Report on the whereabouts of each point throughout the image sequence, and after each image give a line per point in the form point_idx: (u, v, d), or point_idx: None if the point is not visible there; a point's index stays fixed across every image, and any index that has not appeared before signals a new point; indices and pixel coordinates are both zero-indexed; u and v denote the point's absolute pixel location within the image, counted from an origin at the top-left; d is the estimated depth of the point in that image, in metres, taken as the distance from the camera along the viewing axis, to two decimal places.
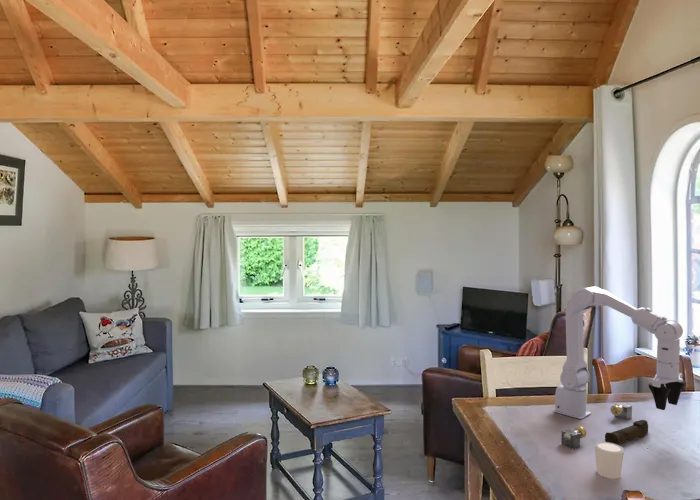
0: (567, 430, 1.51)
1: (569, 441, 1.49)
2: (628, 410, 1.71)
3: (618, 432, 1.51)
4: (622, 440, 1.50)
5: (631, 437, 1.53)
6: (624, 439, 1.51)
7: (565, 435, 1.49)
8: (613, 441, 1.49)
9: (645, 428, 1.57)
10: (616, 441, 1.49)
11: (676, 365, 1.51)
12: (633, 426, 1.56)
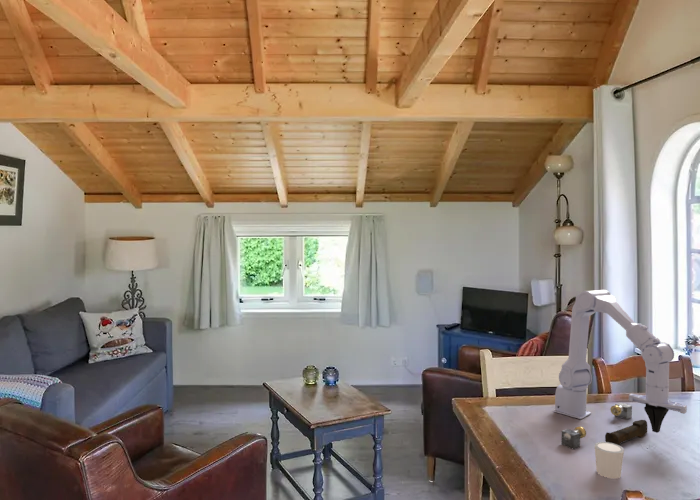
0: (567, 430, 1.51)
1: (569, 441, 1.49)
2: (628, 410, 1.71)
3: (618, 432, 1.51)
4: (622, 440, 1.50)
5: (631, 437, 1.53)
6: (624, 439, 1.51)
7: (565, 435, 1.49)
8: (613, 441, 1.49)
9: (644, 428, 1.57)
10: (616, 441, 1.49)
11: (650, 387, 1.48)
12: (633, 426, 1.56)
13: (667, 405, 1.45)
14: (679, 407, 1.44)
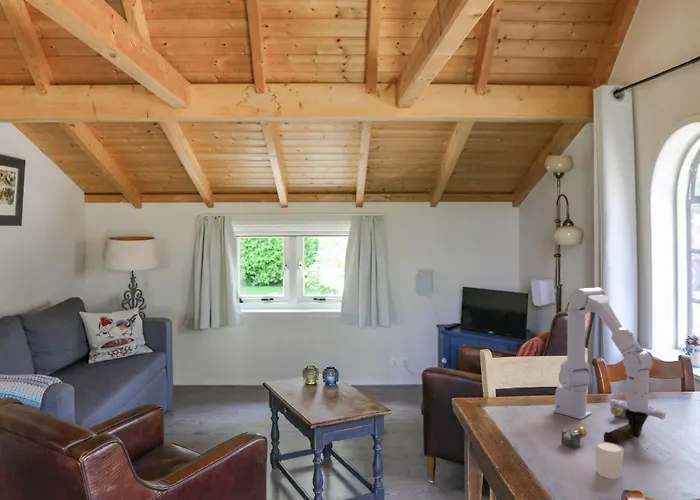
0: (567, 430, 1.51)
1: (569, 441, 1.49)
2: None
3: (616, 431, 1.52)
4: (620, 439, 1.51)
5: (628, 436, 1.54)
6: (622, 438, 1.51)
7: (565, 435, 1.49)
8: (612, 440, 1.49)
9: None
10: (615, 440, 1.49)
11: (631, 393, 1.52)
12: (629, 425, 1.57)
13: (647, 411, 1.49)
14: (658, 413, 1.48)
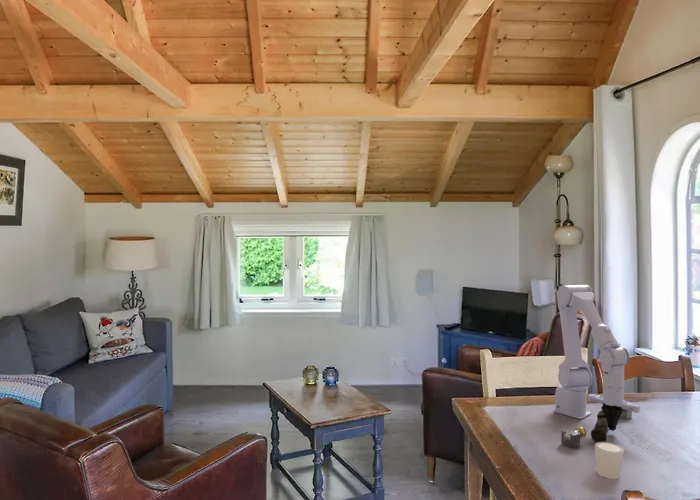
0: (567, 430, 1.51)
1: (569, 441, 1.49)
2: (628, 410, 1.71)
3: (599, 427, 1.54)
4: None
5: (606, 428, 1.57)
6: (605, 432, 1.54)
7: (565, 435, 1.49)
8: (601, 436, 1.51)
9: None
10: (604, 435, 1.51)
11: (607, 388, 1.57)
12: (600, 418, 1.61)
13: (622, 405, 1.54)
14: (632, 407, 1.53)
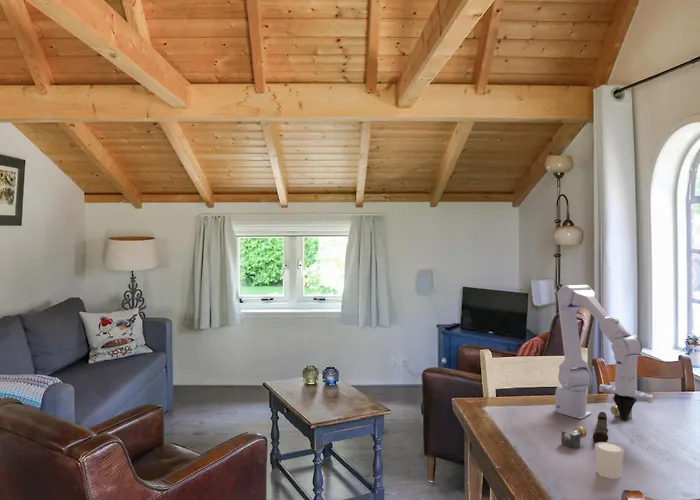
0: (567, 430, 1.51)
1: (569, 441, 1.49)
2: None
3: (602, 429, 1.53)
4: None
5: None
6: None
7: (565, 435, 1.49)
8: (603, 440, 1.50)
9: None
10: (606, 439, 1.50)
11: (619, 378, 1.54)
12: (601, 420, 1.61)
13: (634, 395, 1.52)
14: (645, 397, 1.50)
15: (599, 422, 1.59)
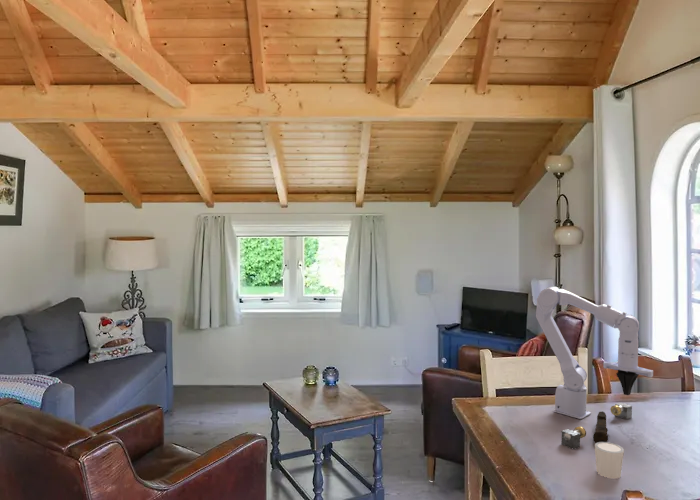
0: (567, 430, 1.51)
1: (569, 441, 1.49)
2: (628, 410, 1.71)
3: (602, 429, 1.53)
4: None
5: None
6: None
7: (565, 435, 1.49)
8: (604, 439, 1.50)
9: None
10: (607, 439, 1.50)
11: (622, 355, 1.66)
12: (601, 420, 1.61)
13: (636, 370, 1.63)
14: (646, 372, 1.62)
15: (599, 422, 1.59)
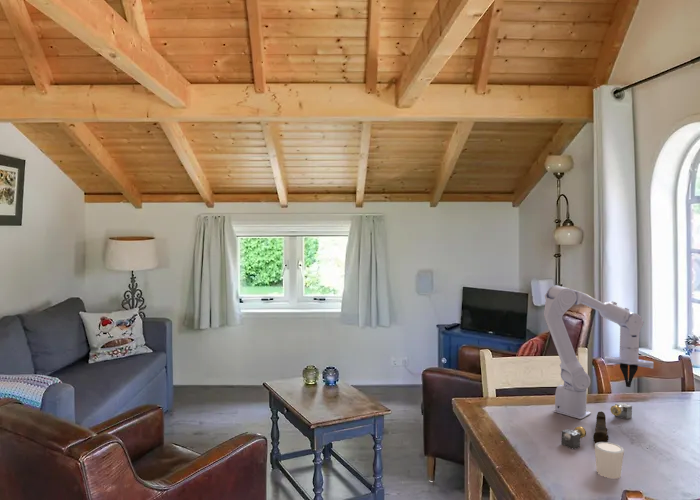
0: (567, 430, 1.51)
1: (569, 441, 1.49)
2: (628, 410, 1.71)
3: (602, 429, 1.53)
4: None
5: None
6: None
7: (565, 435, 1.49)
8: (604, 440, 1.50)
9: None
10: (607, 439, 1.50)
11: (626, 349, 1.73)
12: (600, 420, 1.61)
13: (640, 363, 1.72)
14: (649, 363, 1.72)
15: (598, 422, 1.60)
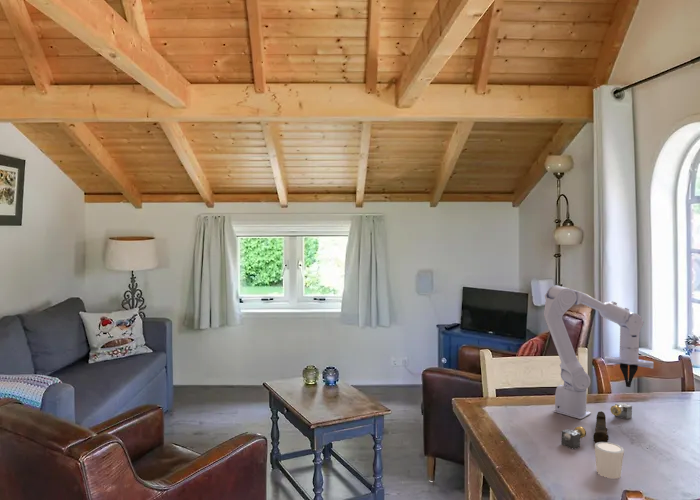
0: (567, 430, 1.51)
1: (569, 441, 1.49)
2: (628, 410, 1.71)
3: (602, 429, 1.53)
4: None
5: None
6: None
7: (565, 435, 1.49)
8: (604, 439, 1.50)
9: None
10: (607, 439, 1.50)
11: (626, 349, 1.73)
12: (600, 420, 1.61)
13: (640, 363, 1.72)
14: (649, 363, 1.72)
15: (598, 422, 1.60)
